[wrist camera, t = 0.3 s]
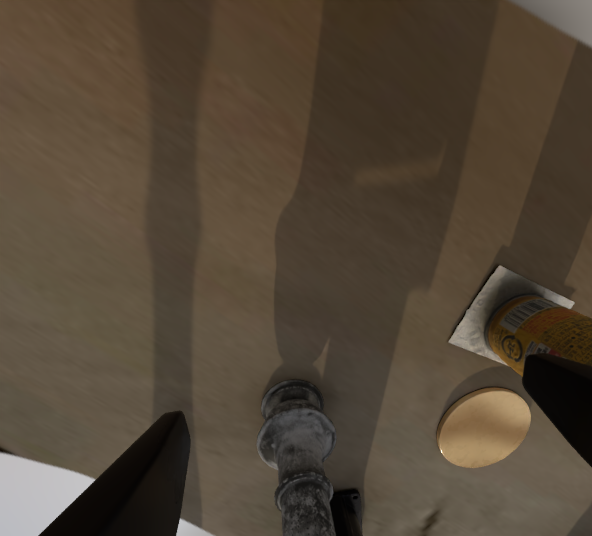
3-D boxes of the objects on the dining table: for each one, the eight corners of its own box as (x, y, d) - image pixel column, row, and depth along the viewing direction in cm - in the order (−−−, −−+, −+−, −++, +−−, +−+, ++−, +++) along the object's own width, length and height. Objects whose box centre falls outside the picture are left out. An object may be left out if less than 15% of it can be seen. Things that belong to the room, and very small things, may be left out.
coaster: (520, 454, 30) (524, 459, 29) (434, 470, 29) (437, 475, 28) (532, 380, 27) (537, 383, 26) (438, 395, 26) (441, 399, 26)
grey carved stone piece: (340, 402, 25) (404, 587, 14) (292, 444, 26) (314, 651, 15) (293, 363, 24) (320, 536, 12) (243, 409, 24) (224, 611, 13)
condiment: (521, 370, 26) (718, 517, 15) (446, 341, 25) (606, 481, 13) (572, 301, 25) (835, 406, 13) (496, 263, 23) (726, 348, 12)
